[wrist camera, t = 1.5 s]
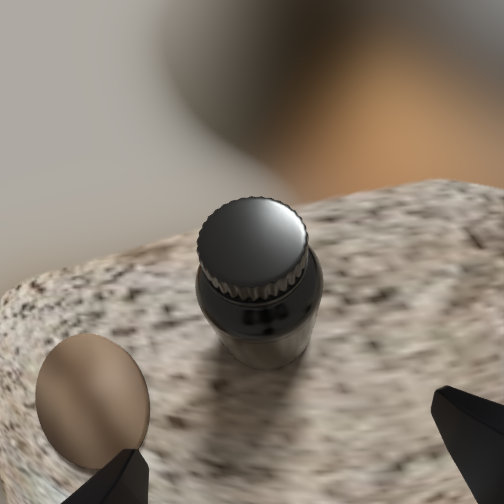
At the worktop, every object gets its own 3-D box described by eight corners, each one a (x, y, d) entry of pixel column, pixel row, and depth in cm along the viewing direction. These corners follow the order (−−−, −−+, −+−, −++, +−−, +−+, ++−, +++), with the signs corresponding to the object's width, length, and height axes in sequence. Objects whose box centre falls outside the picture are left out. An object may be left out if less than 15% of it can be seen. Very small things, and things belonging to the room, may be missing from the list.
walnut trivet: (105, 494, 15) (99, 495, 15) (26, 403, 20) (20, 401, 19) (178, 392, 20) (173, 390, 19) (84, 313, 25) (79, 309, 24)
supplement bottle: (325, 350, 21) (364, 277, 11) (239, 383, 20) (193, 343, 10) (290, 275, 25) (291, 164, 15) (212, 304, 24) (160, 208, 14)
